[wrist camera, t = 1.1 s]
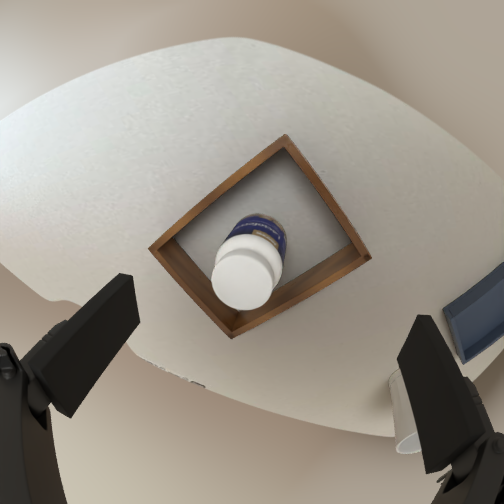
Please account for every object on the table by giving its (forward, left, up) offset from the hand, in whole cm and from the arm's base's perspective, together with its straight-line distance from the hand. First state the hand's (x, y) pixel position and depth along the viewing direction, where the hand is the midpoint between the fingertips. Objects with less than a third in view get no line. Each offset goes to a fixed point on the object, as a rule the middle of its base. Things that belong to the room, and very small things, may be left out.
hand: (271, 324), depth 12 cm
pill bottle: (+4, 0, -18) cm, 19 cm away
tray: (-18, +27, -18) cm, 37 cm away
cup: (-1, +31, -18) cm, 36 cm away
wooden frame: (+4, 0, -18) cm, 18 cm away
